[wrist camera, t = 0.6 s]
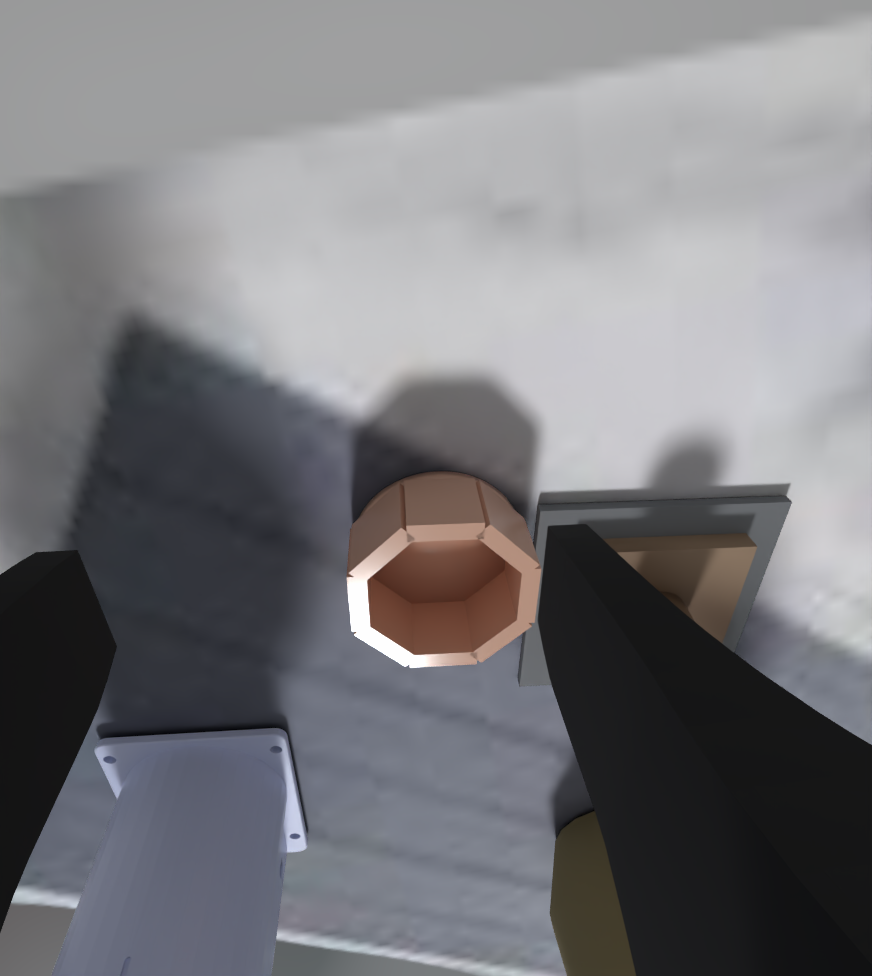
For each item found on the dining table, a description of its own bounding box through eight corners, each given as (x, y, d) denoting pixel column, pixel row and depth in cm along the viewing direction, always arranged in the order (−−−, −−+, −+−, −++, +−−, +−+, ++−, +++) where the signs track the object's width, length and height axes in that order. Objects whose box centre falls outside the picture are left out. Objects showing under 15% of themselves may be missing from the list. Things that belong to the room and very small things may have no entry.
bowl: (513, 601, 24) (529, 661, 21) (358, 608, 23) (355, 670, 21) (527, 468, 21) (547, 520, 18) (347, 474, 20) (342, 528, 18)
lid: (703, 655, 26) (763, 760, 22) (553, 663, 25) (585, 771, 21) (746, 532, 22) (826, 630, 18) (572, 539, 22) (615, 640, 18)
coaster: (721, 667, 27) (725, 675, 27) (517, 678, 26) (519, 686, 26) (785, 495, 22) (792, 501, 22) (538, 504, 21) (540, 511, 21)
